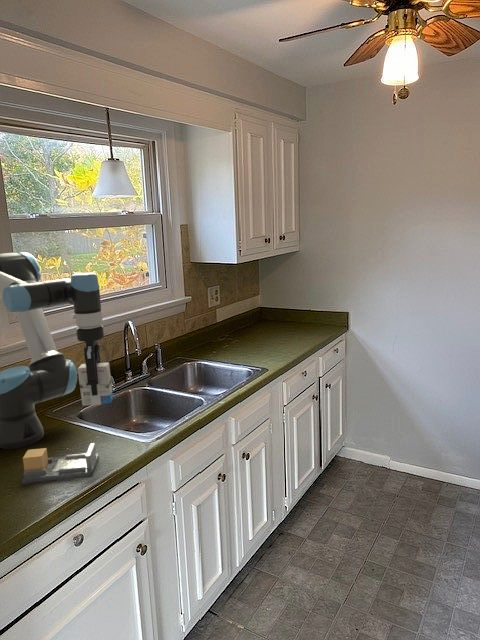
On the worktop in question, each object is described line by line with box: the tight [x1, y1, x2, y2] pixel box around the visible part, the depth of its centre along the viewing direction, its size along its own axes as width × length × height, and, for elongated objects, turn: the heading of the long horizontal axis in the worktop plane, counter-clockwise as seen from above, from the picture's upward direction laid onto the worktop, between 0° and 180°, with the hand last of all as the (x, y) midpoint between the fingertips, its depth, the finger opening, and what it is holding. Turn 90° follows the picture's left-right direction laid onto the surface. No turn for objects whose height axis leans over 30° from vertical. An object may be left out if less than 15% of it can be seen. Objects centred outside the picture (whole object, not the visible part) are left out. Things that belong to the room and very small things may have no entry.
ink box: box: [77, 362, 114, 407], centre depth 145 cm, size 9×5×12 cm, turn 94°
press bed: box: [21, 442, 100, 485], centre depth 137 cm, size 11×18×6 cm, turn 97°
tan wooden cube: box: [22, 447, 49, 471], centre depth 136 cm, size 5×5×4 cm
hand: (97, 401), depth 146 cm, fingers closed on ink box, 5 cm apart
